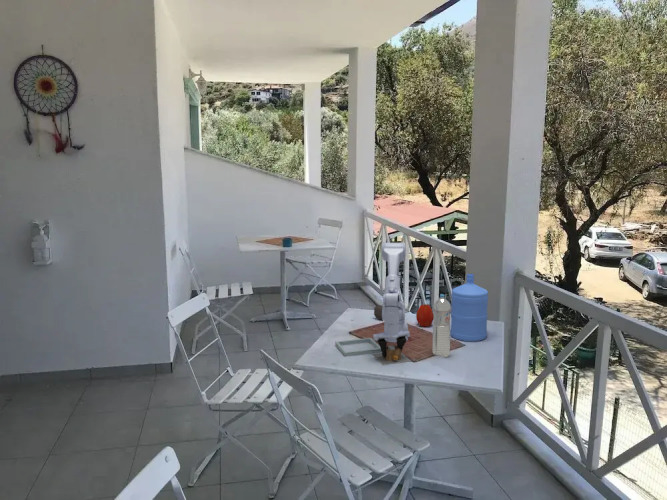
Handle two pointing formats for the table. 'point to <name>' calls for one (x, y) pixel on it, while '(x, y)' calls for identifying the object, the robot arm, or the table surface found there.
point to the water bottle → (441, 327)
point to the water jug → (469, 311)
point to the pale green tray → (359, 352)
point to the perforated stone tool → (378, 312)
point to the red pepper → (424, 315)
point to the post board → (385, 362)
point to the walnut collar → (393, 354)
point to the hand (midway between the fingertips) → (391, 355)
